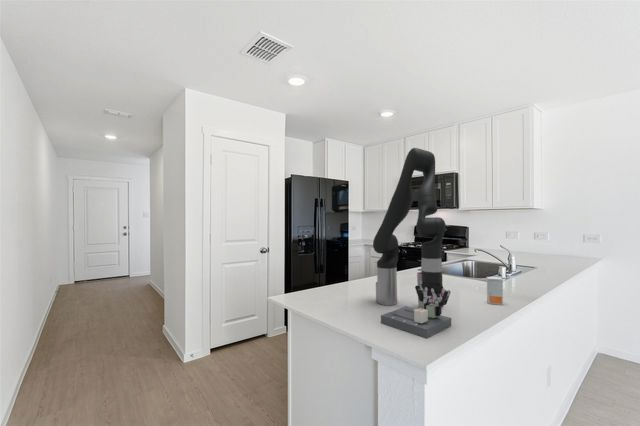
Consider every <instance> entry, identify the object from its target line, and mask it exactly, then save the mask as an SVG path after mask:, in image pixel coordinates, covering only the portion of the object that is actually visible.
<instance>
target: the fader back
mask: <svg viewBox="0 0 640 426" xmlns="http://www.w3.org/2000/svg"><path fill="white" fill-rule="evenodd" d="M426 310H428V317H431V318H435V317H438V316H436V305H435V304H430V305H427V306H426Z"/></svg>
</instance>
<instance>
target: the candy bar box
mask: <svg viewBox="0 0 640 426" xmlns="http://www.w3.org/2000/svg"><path fill="white" fill-rule="evenodd" d="M416 277H417V278H416V279H417V285H421V284H422V276H421V271H419V272H417V273H416ZM442 286H443V283H442ZM443 287H444V286H443ZM422 291H423V294H424V290H422ZM440 294H441V300H442V297H443V295H442V292H441V293H440ZM417 298H418V297H417ZM417 300H418V302H417V303H418V309H419V308H422V309H424V303H423V302H422V301H419V298H418V299H417ZM429 303H430V304H435V300H434V299H433V297H432V296H431V297H430V300H429ZM435 305H436V304H435ZM441 308H444V306H442V307H441Z"/></svg>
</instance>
